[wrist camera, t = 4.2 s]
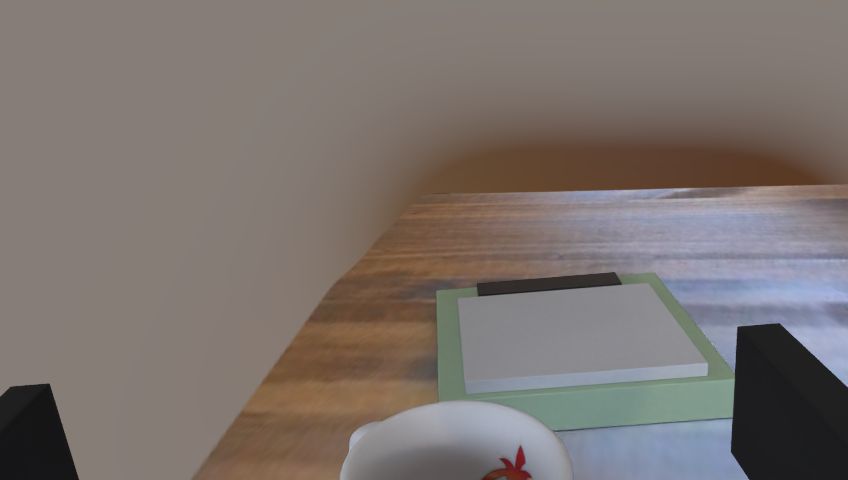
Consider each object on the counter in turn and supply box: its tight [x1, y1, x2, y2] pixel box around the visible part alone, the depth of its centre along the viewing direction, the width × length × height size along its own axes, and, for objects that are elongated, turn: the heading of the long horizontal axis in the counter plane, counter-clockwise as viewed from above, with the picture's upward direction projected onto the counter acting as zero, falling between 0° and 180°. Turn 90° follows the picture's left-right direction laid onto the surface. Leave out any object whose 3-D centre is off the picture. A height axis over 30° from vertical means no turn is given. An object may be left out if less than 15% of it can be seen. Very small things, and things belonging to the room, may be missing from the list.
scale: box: [436, 272, 735, 431], centre depth 45 cm, size 16×15×3 cm
